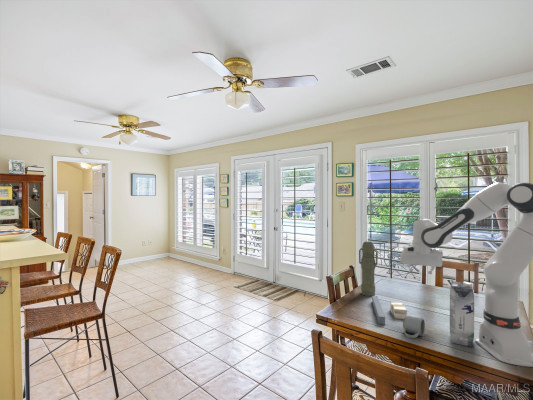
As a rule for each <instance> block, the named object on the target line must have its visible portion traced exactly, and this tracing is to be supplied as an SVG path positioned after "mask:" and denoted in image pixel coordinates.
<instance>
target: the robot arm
mask: <svg viewBox="0 0 533 400" xmlns="http://www.w3.org/2000/svg"><path fill="white" fill-rule="evenodd" d="M507 206H513V207H514V208H515V209H517V210H518V211H519V212H520V213H521V214H522V217H521V218H520V220H519V222H518V223H517V224H516V225H515V227H514V228H513V229H512V230H511V232H510V233H509V234H508V235H507V237H506V238H505V239H504V240H503V241H502V243H501V244H500V245H499V246H498V248H497V249H496V250H495V252H494V253H493V254H492V255H491V256H490V258H489V259H488V260H487V261H486V263H484V266H483V275H484V277H485V279H486V280H485V289H484V309H483V313H482V314H483V315H482V316H483V320H482V322H481V323H480V324H479V329H478V338H476V339H475V341H474V342H475V343H476V344H478V345H479V346H480V347H481V348H483V349H484V350H485V351H486V352H488V353H489V354H490V355H491V356H493V357H494V358H495V359H497V360H499V361H500V362H503V363H506V364H510V365H515V366H521V367H528V368H529V367H533V351H532V350H533V341H532V340H528V339H527V338H528V337H527V334H526V333H524V332H523V330H522V328H521V327H522V323H521V320H520V317H519V315H518V312H519V309H518V308H519V278H520V276H521V275H522V273H523V272H524V271H525V269H527V267H528V266H529V265H530V264H531V262H532V261H533V183H531V182H519V183H516V184H514V185H512V186H510V185H508V184H507V183H504V182H500V181H499V182H495V183H493V184H490V185H489V186H487V187H485V188H484V189H482V190H479V192H477V193H476V194H475V195H473V196H472V197H471V198H469V199H468V200H467V201H466V202H465V203H464V204H463V205H462V206H461V207H460V208H459V209H458V210H457V211H456V212H455V213H453V214H451V215H450V216H449V217H447V218H446V219H444V220H442V222H440V223H439V224H437V223H436V222H434V221H432V219H429V218H420V219H416V220H415V221H414V222H413V228H412V236H413V237H412V238H413V239H412V242H411V243H408V244H404V245H403V246H402V250H401V253H400V258H399V262H400V263H401V265H402V264H403V265H406V266H407V267H408V273H412V274H413V272H414V271H413V270H414V269H413V268H411V266H422V267H423V266H425V267H430V269H428V270H427V273H428V275H433V271H434V270H435V269H436V268H435V267H437V268H438V267H439V268H442V266H443V256H444V253H443V251H442V250H441V249H439V248H438V247H441V246H444V245H447V244H448V243H450V242H451V241H452V240H453V233H454V232H455V231H457V230H458V229H460V228H462V227H464V226H465V225H468V224H470V223H471V224H472V223H474V222H475V223H476V222H478V221H482V220H485V219H486V218H488V217H491V216H492V215H494V214H495V213H497V212H499V211H500V210H502V209H503V208H505V207H507ZM436 248H438V249H436Z"/></svg>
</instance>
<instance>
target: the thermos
mask: <svg viewBox="0 0 533 400" xmlns="http://www.w3.org/2000/svg"><path fill="white" fill-rule="evenodd" d="M378 253H379V252H378V250H377V249H375V245H374V242H372V241H364V242H363V243H362V247H361V248H360V249H359V250H358V263H359V264H360V268H361V285H360V290H361V292H360V293H362V294H361V295H362V296H364V295H365V296H364V297H372V296H376V284H375V270H376V267H377V266H378V261H379V260H378V259H379V257H378V256H379V254H378ZM361 254H362V256H361Z"/></svg>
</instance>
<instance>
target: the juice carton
mask: <svg viewBox="0 0 533 400" xmlns="http://www.w3.org/2000/svg"><path fill="white" fill-rule="evenodd" d="M449 335H450V338H451V339H450V340H451V343H452V344H458V345H461V346H465V347H469V348H471V347H473V344H474V339H475V293H474V289H473V285H472V283H471V282H468V281H463V282H462V281H460V282H459V281H453V280H452V281H451V282H450V286H449Z"/></svg>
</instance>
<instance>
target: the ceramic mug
mask: <svg viewBox="0 0 533 400" xmlns="http://www.w3.org/2000/svg"><path fill="white" fill-rule="evenodd" d="M402 321H403V322H402V326H403V327H402V328H403V330H404V331H403V333H404V335H405V336H406V337H407V338H410V339H415V338H417V337H418V336H420V337H423V336H424V334H425V331H426V323H425V319H424V318H423V317H422V318H421V317H416V316H411V315H407V316H405V317H404V319H403V320H402ZM407 332H408V333H410V334H408V333H407ZM411 333H412V335H411Z"/></svg>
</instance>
